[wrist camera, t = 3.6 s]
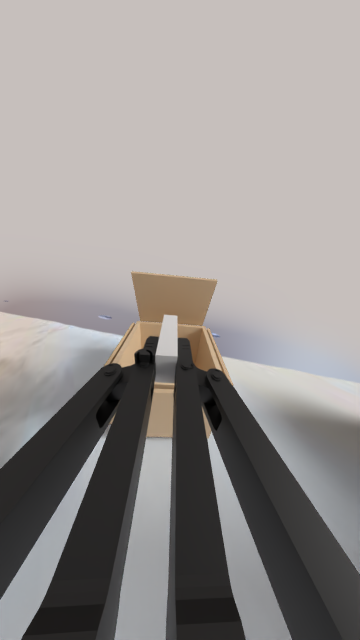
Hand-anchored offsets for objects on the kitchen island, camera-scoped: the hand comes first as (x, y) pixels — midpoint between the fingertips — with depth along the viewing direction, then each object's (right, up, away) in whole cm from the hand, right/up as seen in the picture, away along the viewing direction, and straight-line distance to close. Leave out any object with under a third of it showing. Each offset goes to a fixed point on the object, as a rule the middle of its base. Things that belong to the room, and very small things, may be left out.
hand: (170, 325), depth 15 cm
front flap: (-1, 0, +16) cm, 16 cm away
